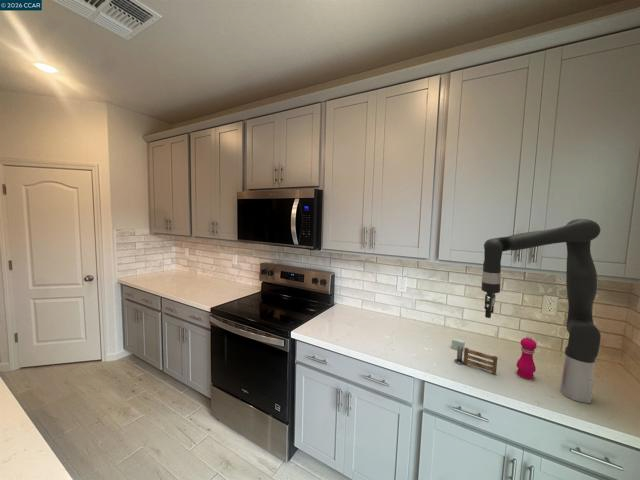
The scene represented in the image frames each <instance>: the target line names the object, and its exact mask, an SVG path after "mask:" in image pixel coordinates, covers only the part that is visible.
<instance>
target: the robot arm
mask: <svg viewBox="0 0 640 480" xmlns="http://www.w3.org/2000/svg"><path fill="white" fill-rule="evenodd" d="M600 234H601V226H600V225H599V224H598V223H597V221H594V220H592V219H589V218H588V219H587V218H575V219H571V220H570V221H569V222H567V223H566V225H563V226H559V227H556V228H550V229H543V230H535V231H528V232H527V231H526V232H521V233H518V234H511V235H507V236H501V237H500V236H499V237H494V238H489V239H486V240H485V242H484V244H483V249H484V251H483V252H484V255H483V256H484V258H483V259H484V260H483V264H482V265H483V266H482V275H481V291H482V292H485V295H484V311H485V313H484V317H485V318H487V319H491V317H492V314H494V309H495V303H496V298H497V296H496V294H499V293H500V292H501V287H502V286H501V285H502V284H501V283H502V274H501V272H502V271H501V269H502V261H501V260H502V258H503V257H502V256H503V252H507V251H519V250H520V251H521V250H525V249H532V248H536V247H542V246H548V245H553V244H560V243H561V244H562V243H566V244H565V245H566V252H567V253H566V254H567V255H566V269H565V270H566V274H565V279H566V281H565V282H566V294H567V302H568V308H567V309H568V310H567V317H566V324H565V325H566V326H565V327H566V330H567V333H568V334H569V335H568V340H567V341H568V342H567V345H566V347H565V349H564V357H563V364H562V371H561V373H562V374H561V381H560V387H559V388H560V390H559V391H560V392H561V394H562V395H564V396H565V397H567V398H569V399H571V400H573V401H576V402H579V403H585V404H586V403H587V404H592V398H593V397H592V396H593V389H594V383H595V382H594V379H593V378H594V371H595V364H596V358H597V357H598V355H599V350H600V345H601V339H602V338H601V331H600V329H598V327H597V326H596V325H595V323H594V320H593V304H594V301H595V298H596V295H597V291H598V275H597V274H598V273H597V269H596V266H595V263H594V260H593V258H592V254H591V243H592V242H591V241H593V240H595V239H597V238H598V236H599V235H600Z"/></svg>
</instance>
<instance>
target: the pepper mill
mask: <svg viewBox="0 0 640 480" xmlns="http://www.w3.org/2000/svg"><path fill="white" fill-rule="evenodd" d="M520 346H521V347H520V350H521V356H520V358H519V359H517V362H516V367H517V368H516V369H517V370H516V374H517V376H519V377H520V378H522V379H525V380H533V379H534V375H535V374H534V373H535V372H536V371H537V369H536V364H535V362H534V358H533V357H534V355H535V350H536V348H537V342H536V341H535V340H534V339H532V336H531V335H530V334H529V335H527V336H526V337H523V338H521V340H520Z"/></svg>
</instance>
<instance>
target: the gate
mask: <svg viewBox="0 0 640 480" xmlns="http://www.w3.org/2000/svg"><path fill="white" fill-rule="evenodd" d="M476 356H477V357H476ZM498 358H499V357H498V356H497V355H489V354H486V353H483V352H481V351H478V350H477V351H476V350H475V349H474V350H473V349H470V348H469V347H465V346H464V351H463V359H462V361H463V363H464V364H463V365H471V366H473V367H476V368H479V369H482V370H486V371H490V372H491V373H492V374H494V375H496V374H497V369H498V368H497V367H498Z"/></svg>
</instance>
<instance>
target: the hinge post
mask: <svg viewBox="0 0 640 480" xmlns="http://www.w3.org/2000/svg"><path fill="white" fill-rule="evenodd" d="M463 356H464V351H463V347H460V346H458V350H457V353H456V358H455V359H454V363H455V364H457V365H460V366H462V365H465V364H464V363H463Z"/></svg>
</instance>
